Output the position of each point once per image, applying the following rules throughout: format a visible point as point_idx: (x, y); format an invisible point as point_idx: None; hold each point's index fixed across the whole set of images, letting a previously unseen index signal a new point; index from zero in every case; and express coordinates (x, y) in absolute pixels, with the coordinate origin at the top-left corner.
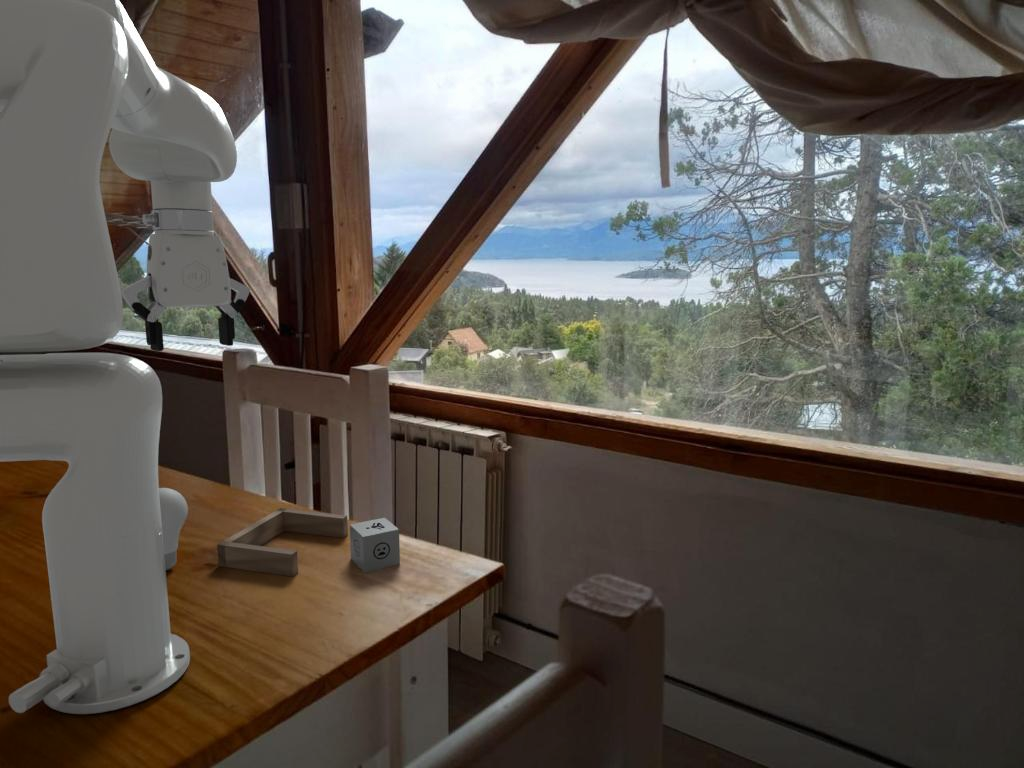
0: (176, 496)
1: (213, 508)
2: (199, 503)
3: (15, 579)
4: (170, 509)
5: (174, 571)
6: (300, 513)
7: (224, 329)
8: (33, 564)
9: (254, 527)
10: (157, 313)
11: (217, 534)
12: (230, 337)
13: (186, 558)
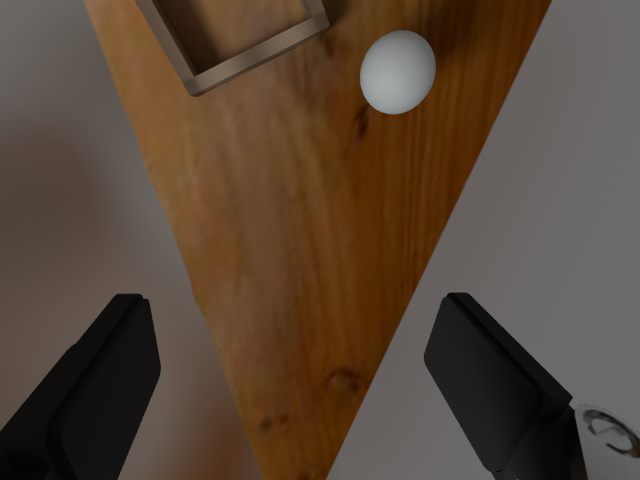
0: (394, 44)
1: (240, 233)
2: (245, 261)
3: (461, 182)
4: (407, 31)
5: None
6: (173, 42)
7: (114, 388)
8: (435, 207)
9: (260, 45)
10: (612, 467)
11: (276, 142)
12: (111, 319)
13: (337, 95)
